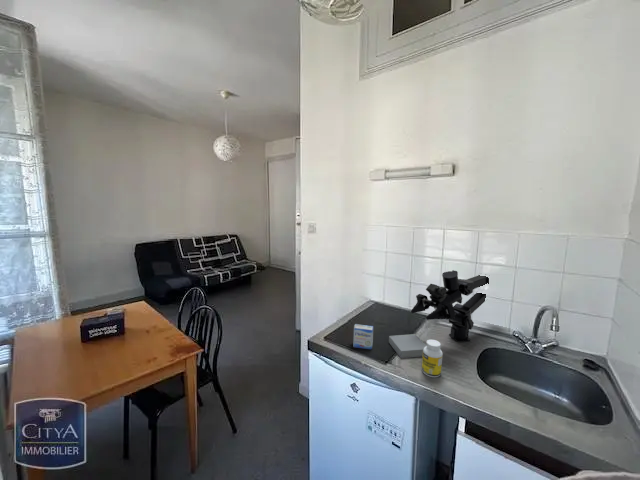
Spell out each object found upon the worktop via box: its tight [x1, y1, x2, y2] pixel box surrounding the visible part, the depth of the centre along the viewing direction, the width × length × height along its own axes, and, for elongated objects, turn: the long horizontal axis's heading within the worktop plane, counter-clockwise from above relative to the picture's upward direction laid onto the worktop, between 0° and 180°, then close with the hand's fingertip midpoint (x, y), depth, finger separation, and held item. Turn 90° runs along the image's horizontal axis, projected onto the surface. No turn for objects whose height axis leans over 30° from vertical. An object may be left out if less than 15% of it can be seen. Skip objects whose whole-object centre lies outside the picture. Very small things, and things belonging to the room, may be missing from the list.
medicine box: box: [352, 323, 374, 350], centre depth 118 cm, size 8×4×9 cm, turn 76°
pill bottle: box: [421, 339, 444, 378], centre depth 100 cm, size 6×6×12 cm
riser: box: [388, 333, 426, 359], centre depth 116 cm, size 12×12×3 cm
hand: (418, 315), depth 112 cm, fingers open, 9 cm apart
